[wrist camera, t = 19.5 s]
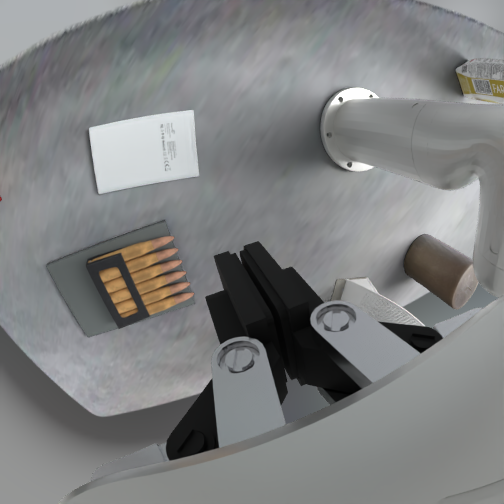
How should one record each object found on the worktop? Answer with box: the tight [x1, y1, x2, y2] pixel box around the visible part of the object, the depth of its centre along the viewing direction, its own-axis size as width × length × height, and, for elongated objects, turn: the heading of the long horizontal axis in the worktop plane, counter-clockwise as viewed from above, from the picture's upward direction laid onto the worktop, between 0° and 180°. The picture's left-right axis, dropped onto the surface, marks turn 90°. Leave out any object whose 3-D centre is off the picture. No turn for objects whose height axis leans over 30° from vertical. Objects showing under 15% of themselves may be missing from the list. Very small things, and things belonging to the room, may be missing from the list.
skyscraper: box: [331, 277, 426, 327], centre depth 40 cm, size 8×8×28 cm
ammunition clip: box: [86, 236, 194, 329], centre depth 37 cm, size 11×2×12 cm
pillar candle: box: [404, 234, 478, 309], centre depth 48 cm, size 10×10×15 cm
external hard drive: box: [89, 110, 199, 194], centre depth 32 cm, size 2×8×12 cm
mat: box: [46, 220, 195, 337], centre depth 37 cm, size 18×13×1 cm
